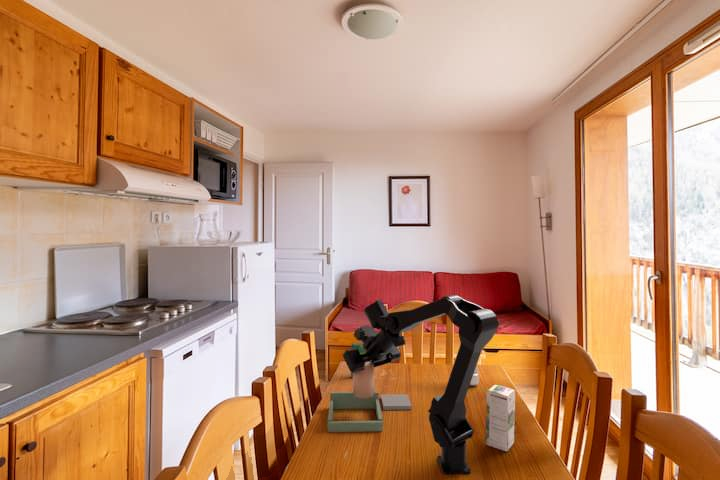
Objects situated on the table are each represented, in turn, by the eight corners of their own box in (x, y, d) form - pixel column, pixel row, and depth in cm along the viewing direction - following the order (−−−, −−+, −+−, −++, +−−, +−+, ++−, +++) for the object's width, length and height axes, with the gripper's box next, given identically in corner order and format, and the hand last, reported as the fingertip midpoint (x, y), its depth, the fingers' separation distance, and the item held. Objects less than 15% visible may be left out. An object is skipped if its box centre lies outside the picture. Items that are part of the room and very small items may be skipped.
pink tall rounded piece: (373, 398, 114) (373, 368, 114) (352, 397, 114) (351, 367, 114) (374, 390, 120) (374, 361, 120) (354, 389, 121) (354, 361, 121)
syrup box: (493, 436, 104) (493, 383, 104) (515, 443, 100) (515, 388, 100) (485, 445, 100) (485, 389, 100) (508, 453, 96) (508, 395, 96)
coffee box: (369, 373, 153) (369, 341, 153) (372, 375, 150) (372, 342, 150) (350, 376, 150) (350, 343, 150) (353, 378, 147) (353, 345, 147)
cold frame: (382, 431, 107) (382, 413, 107) (327, 432, 106) (327, 414, 106) (378, 406, 122) (378, 391, 122) (330, 407, 122) (330, 392, 122)
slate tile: (411, 409, 120) (411, 405, 120) (383, 409, 120) (383, 406, 120) (407, 397, 129) (407, 394, 129) (381, 398, 129) (381, 394, 129)
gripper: (394, 314, 120) (371, 342, 129) (346, 322, 108) (325, 352, 117) (412, 345, 114) (387, 372, 122) (363, 356, 102) (340, 385, 111)
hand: (360, 369), depth 118 cm, fingers closed on pink tall rounded piece, 6 cm apart
